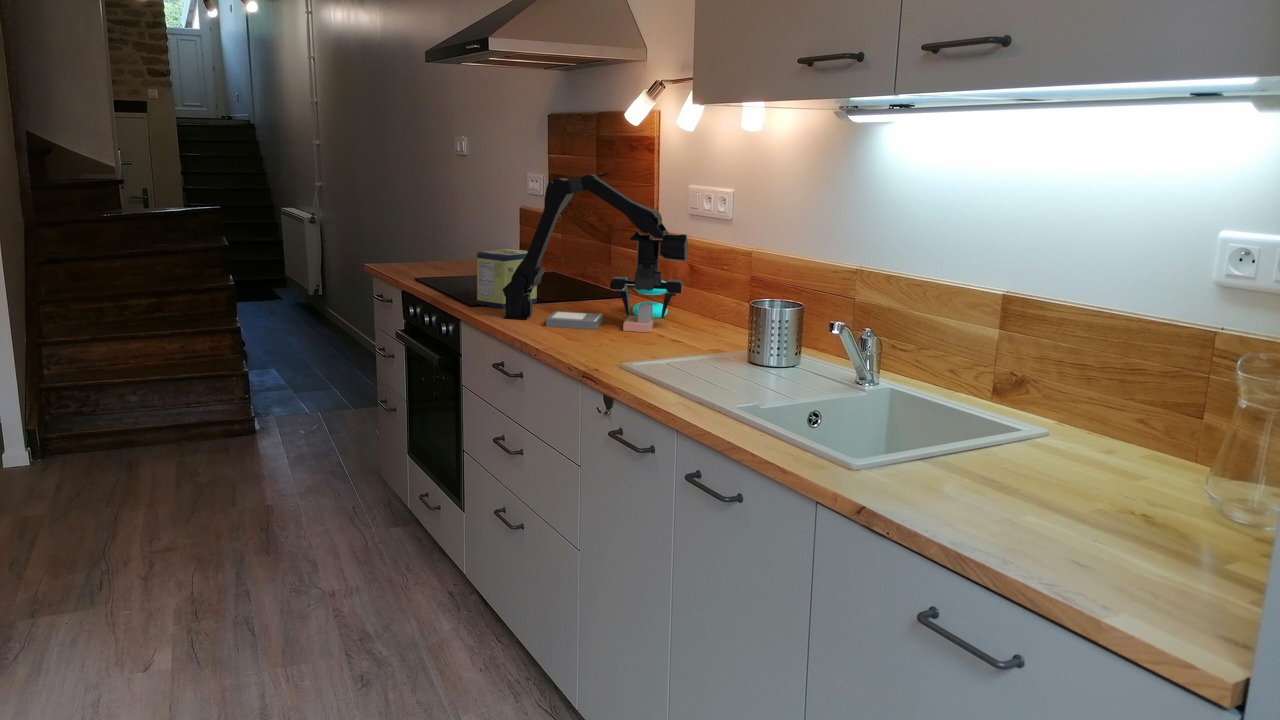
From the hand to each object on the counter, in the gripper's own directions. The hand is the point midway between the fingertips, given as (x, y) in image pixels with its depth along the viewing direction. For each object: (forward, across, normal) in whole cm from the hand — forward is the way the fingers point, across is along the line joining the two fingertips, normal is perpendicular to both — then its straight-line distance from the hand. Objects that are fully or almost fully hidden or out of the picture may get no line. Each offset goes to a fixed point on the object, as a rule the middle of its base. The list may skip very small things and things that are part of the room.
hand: (645, 316), depth 248 cm
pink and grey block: (+3, -2, 0) cm, 3 cm away
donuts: (+3, 0, +19) cm, 19 cm away
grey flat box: (+3, -19, 0) cm, 19 cm away
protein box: (+3, -44, +24) cm, 50 cm away
